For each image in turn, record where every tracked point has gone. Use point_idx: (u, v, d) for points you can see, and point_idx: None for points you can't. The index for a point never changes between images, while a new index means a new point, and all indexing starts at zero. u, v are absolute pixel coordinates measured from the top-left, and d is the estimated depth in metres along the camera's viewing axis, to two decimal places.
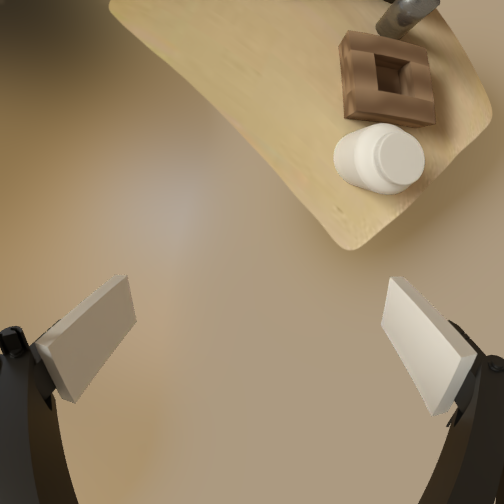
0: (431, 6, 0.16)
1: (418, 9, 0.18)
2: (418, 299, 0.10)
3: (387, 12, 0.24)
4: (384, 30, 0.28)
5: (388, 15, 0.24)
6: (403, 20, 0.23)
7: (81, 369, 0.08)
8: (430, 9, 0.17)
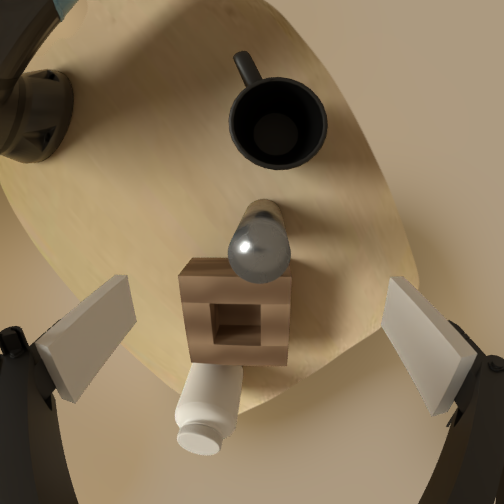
0: (263, 283, 0.20)
1: None
2: (418, 299, 0.10)
3: None
4: None
5: None
6: None
7: (81, 369, 0.08)
8: None
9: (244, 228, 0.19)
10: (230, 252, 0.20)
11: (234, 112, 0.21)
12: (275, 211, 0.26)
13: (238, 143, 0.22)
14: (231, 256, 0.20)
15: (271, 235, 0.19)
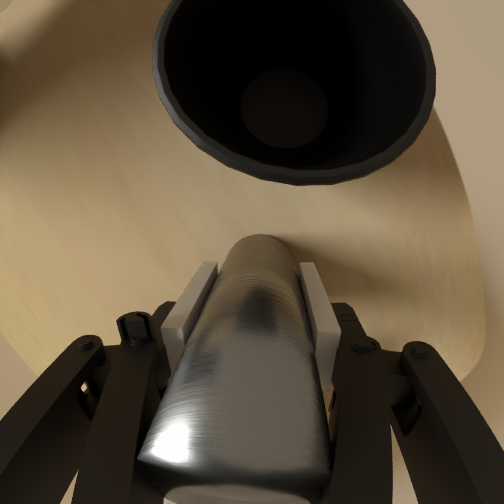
0: None
1: None
2: (312, 281, 0.12)
3: None
4: None
5: None
6: None
7: None
8: None
9: (169, 451, 0.04)
10: None
11: (170, 24, 0.06)
12: (286, 283, 0.11)
13: (175, 104, 0.06)
14: None
15: (276, 473, 0.04)
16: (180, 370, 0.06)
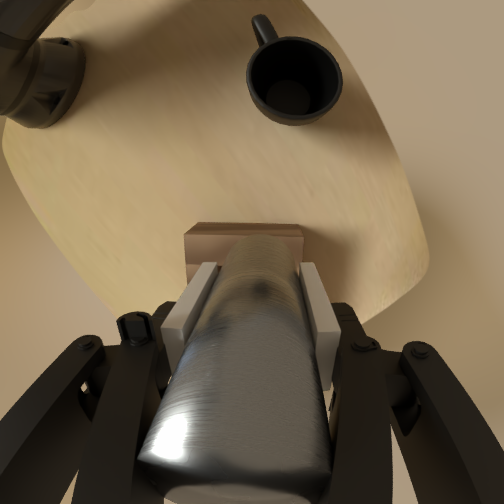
0: None
1: None
2: (312, 281, 0.12)
3: None
4: None
5: None
6: None
7: None
8: None
9: (169, 450, 0.04)
10: None
11: (252, 65, 0.19)
12: (287, 283, 0.11)
13: (255, 93, 0.20)
14: None
15: (277, 472, 0.04)
16: (180, 369, 0.06)
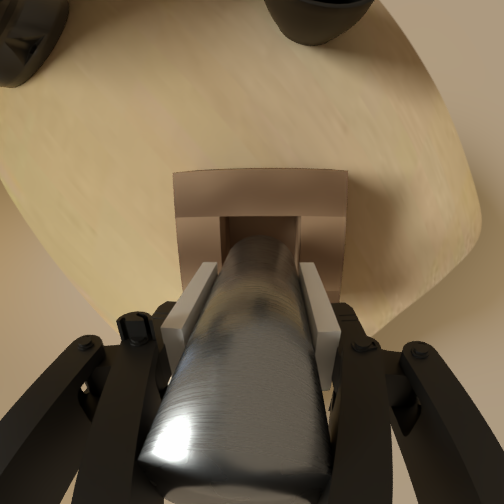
0: None
1: None
2: (312, 281, 0.12)
3: None
4: None
5: None
6: None
7: None
8: None
9: (169, 452, 0.04)
10: None
11: None
12: (286, 284, 0.11)
13: None
14: None
15: (276, 474, 0.04)
16: (180, 371, 0.06)
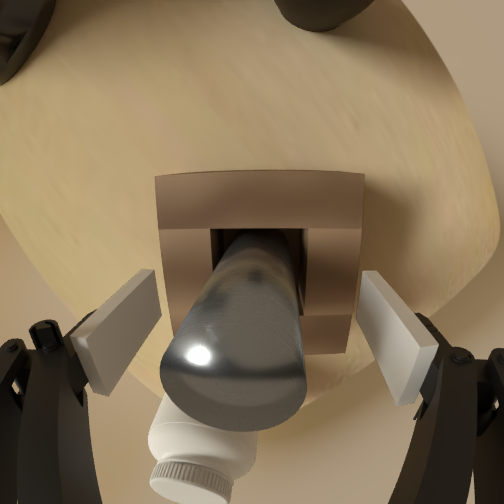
0: (244, 430, 0.08)
1: None
2: (386, 292, 0.11)
3: None
4: None
5: None
6: None
7: (114, 362, 0.09)
8: None
9: (189, 336, 0.07)
10: (165, 378, 0.08)
11: None
12: (278, 254, 0.14)
13: None
14: (169, 385, 0.08)
15: (259, 355, 0.07)
16: (197, 301, 0.10)
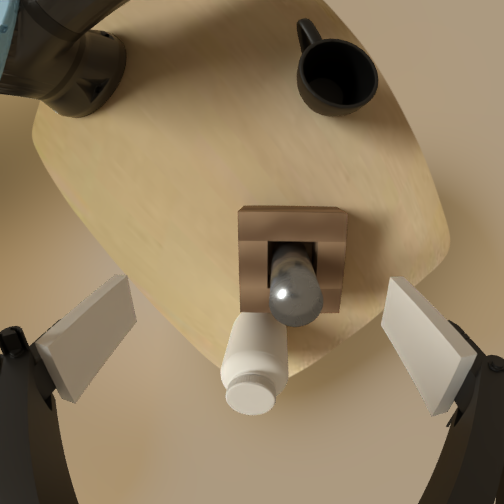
0: (298, 326, 0.23)
1: None
2: (418, 299, 0.10)
3: None
4: None
5: None
6: None
7: (81, 369, 0.08)
8: None
9: (284, 281, 0.22)
10: (271, 301, 0.22)
11: (303, 61, 0.22)
12: (304, 255, 0.29)
13: (308, 84, 0.23)
14: (272, 304, 0.22)
15: (307, 287, 0.22)
16: (278, 273, 0.24)
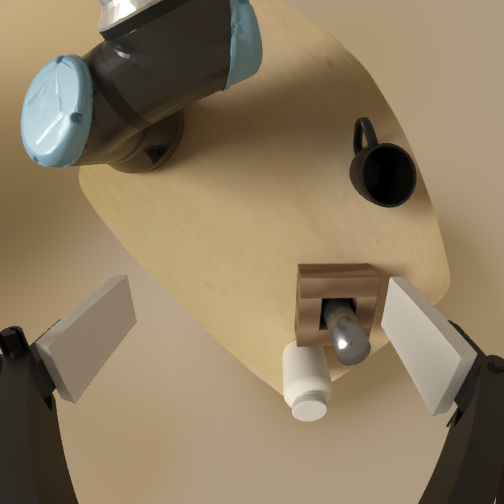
0: (353, 364, 0.32)
1: None
2: (418, 299, 0.10)
3: (325, 316, 0.39)
4: None
5: (325, 320, 0.39)
6: None
7: (81, 369, 0.08)
8: None
9: (349, 340, 0.31)
10: (339, 352, 0.31)
11: (363, 166, 0.31)
12: (350, 309, 0.38)
13: (365, 188, 0.31)
14: (339, 353, 0.31)
15: (362, 342, 0.31)
16: (340, 330, 0.33)
